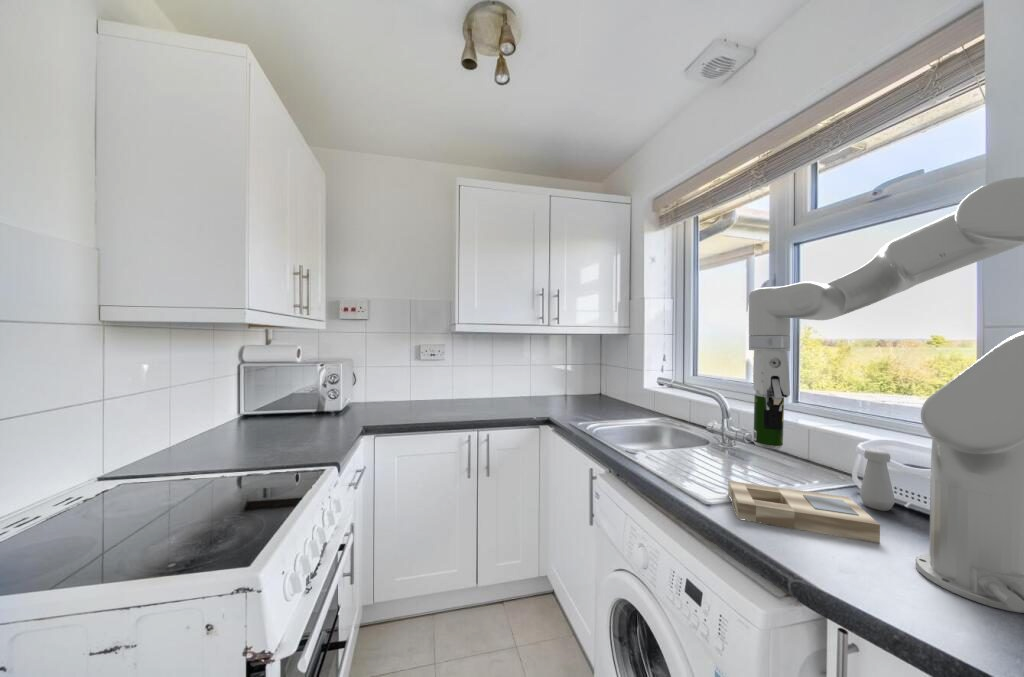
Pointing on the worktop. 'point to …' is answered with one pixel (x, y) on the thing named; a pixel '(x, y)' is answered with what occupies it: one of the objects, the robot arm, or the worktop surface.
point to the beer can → (762, 435)
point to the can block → (803, 511)
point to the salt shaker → (877, 481)
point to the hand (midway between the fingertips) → (768, 425)
